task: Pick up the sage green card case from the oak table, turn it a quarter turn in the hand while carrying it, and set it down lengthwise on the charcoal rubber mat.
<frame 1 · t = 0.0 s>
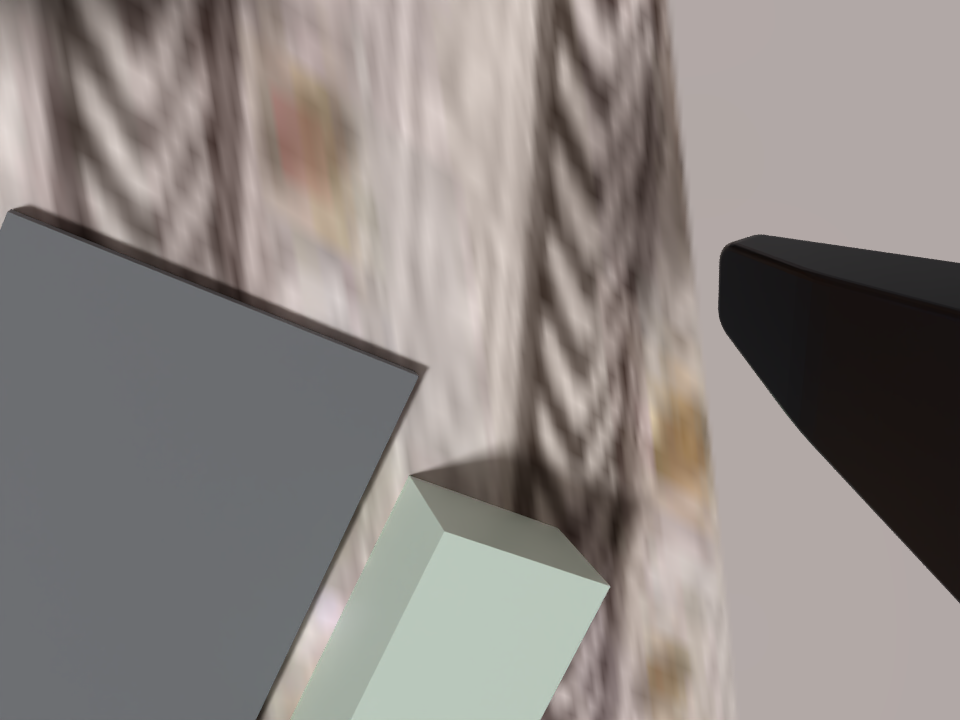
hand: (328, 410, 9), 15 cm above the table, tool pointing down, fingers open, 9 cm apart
rubber mat: (94, 608, 24), on the table
card case: (422, 622, 28), on the table
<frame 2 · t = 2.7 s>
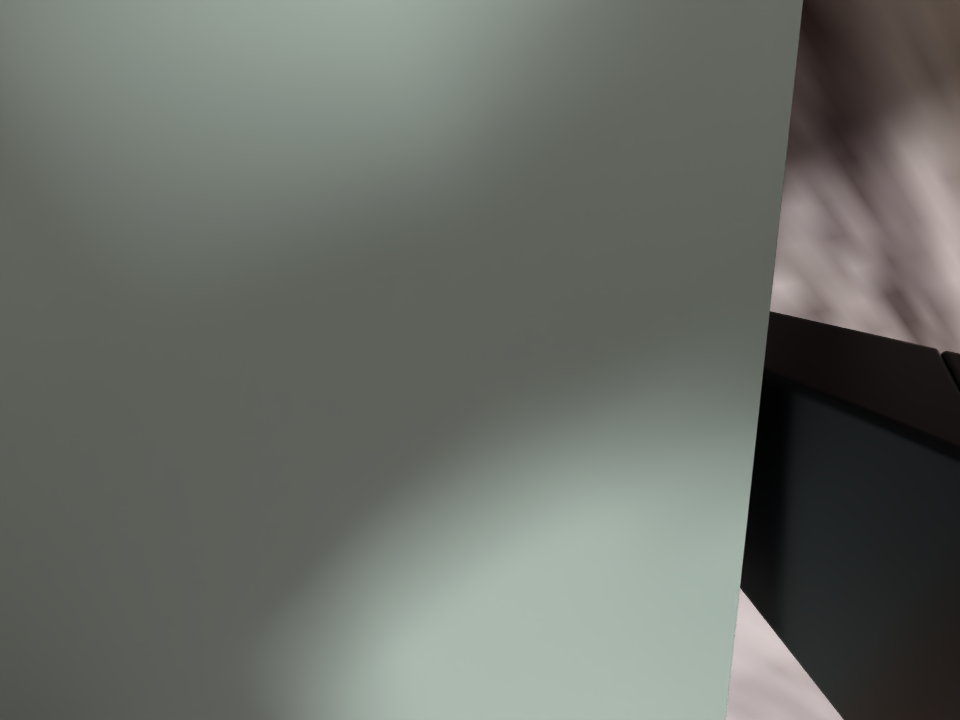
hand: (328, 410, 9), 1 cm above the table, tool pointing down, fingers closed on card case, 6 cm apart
card case: (306, 357, 9), on the table, touching gripper
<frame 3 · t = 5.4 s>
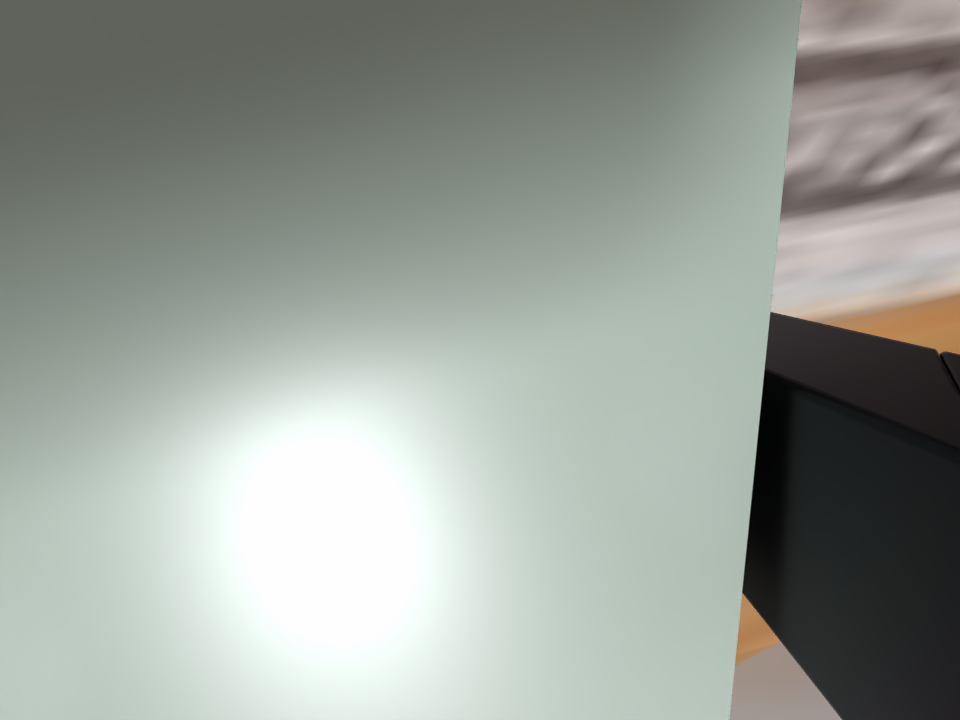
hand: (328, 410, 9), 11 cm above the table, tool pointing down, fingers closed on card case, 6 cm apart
card case: (306, 355, 9), point 10 cm above the table, touching gripper
when the fingers open (3 cm above the table, at t = 8.4 s): card case drops 1 cm, resting on rubber mat.
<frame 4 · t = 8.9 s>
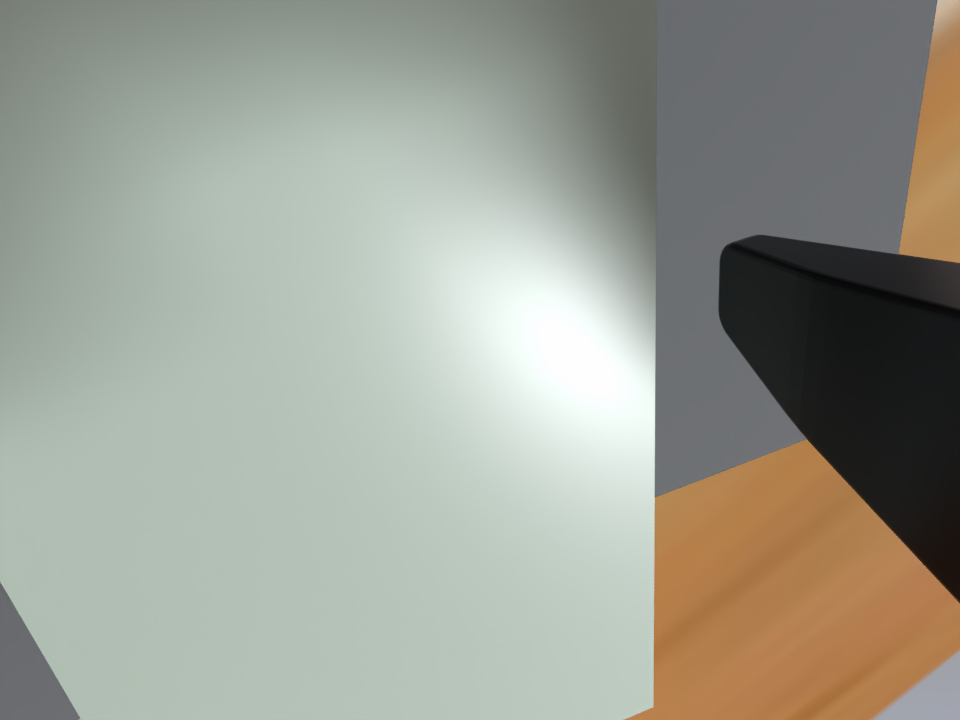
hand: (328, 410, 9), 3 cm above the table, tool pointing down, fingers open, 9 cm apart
rubber mat: (275, 285, 11), on the table
card case: (282, 298, 11), resting on rubber mat
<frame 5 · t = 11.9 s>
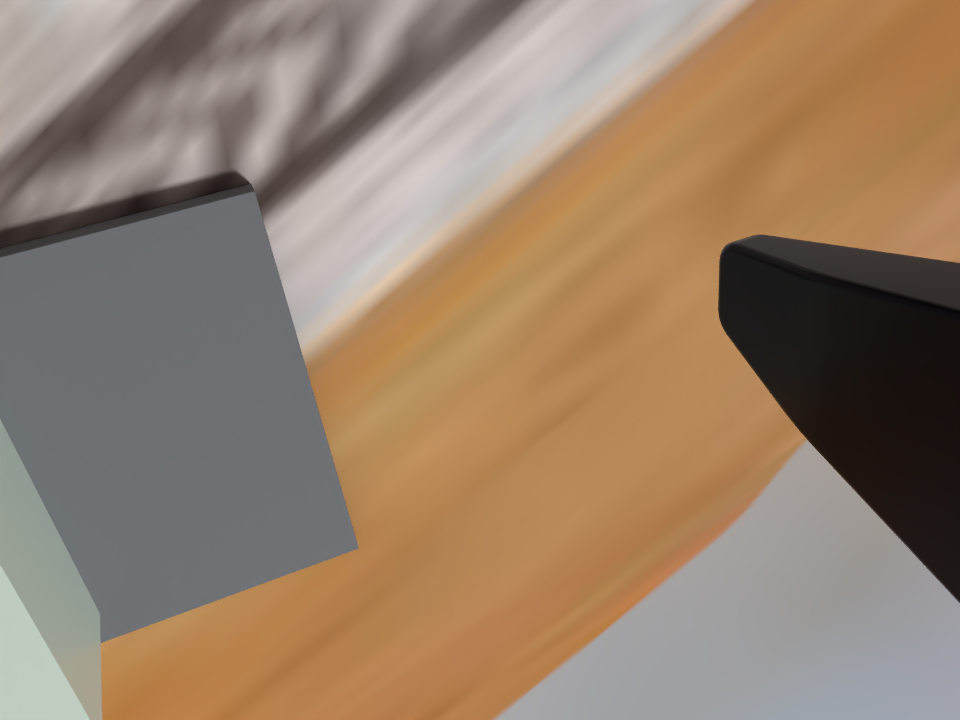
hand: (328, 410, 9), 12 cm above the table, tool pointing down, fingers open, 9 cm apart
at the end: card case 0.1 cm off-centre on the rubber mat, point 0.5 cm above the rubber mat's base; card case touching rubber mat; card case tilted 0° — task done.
